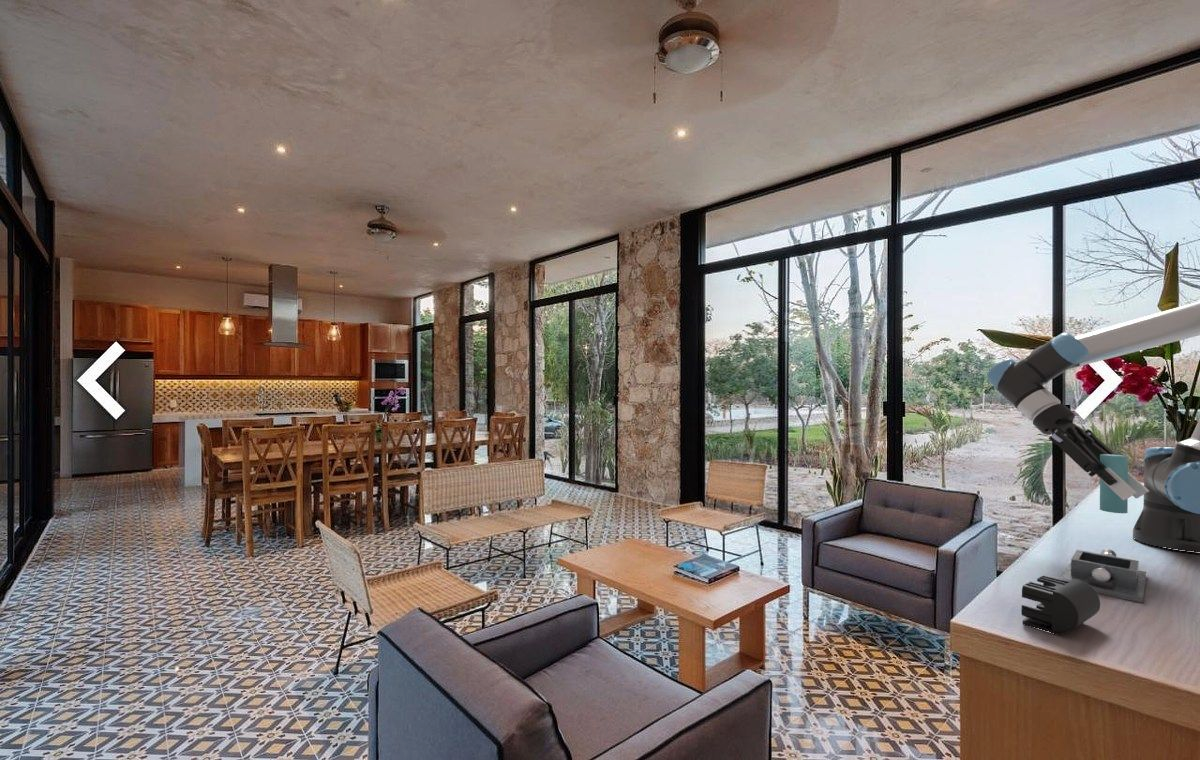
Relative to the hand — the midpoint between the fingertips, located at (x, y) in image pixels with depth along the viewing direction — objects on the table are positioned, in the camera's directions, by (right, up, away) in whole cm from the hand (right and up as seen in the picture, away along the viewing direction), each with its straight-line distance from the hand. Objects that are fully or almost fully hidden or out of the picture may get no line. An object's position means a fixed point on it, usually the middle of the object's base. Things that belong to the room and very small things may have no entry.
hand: (1136, 495), depth 115 cm
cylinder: (-1, -4, +3) cm, 6 cm away
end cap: (-41, -14, -30) cm, 53 cm away
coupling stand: (-15, -14, -10) cm, 23 cm away
